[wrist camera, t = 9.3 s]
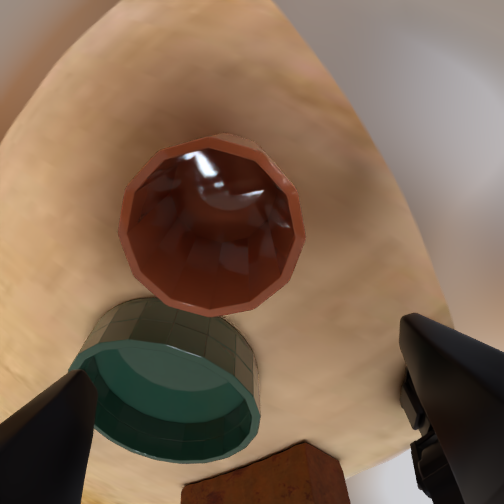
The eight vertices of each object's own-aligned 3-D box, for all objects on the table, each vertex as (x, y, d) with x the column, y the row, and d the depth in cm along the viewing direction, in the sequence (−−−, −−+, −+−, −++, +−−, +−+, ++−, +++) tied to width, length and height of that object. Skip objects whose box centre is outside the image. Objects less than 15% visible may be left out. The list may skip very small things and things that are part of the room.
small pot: (267, 123, 17) (283, 119, 10) (289, 231, 20) (315, 296, 12) (155, 151, 18) (97, 171, 10) (185, 254, 20) (154, 327, 13)
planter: (232, 279, 21) (228, 323, 16) (272, 412, 26) (275, 456, 22) (63, 311, 22) (34, 348, 17) (134, 424, 27) (123, 462, 23)
